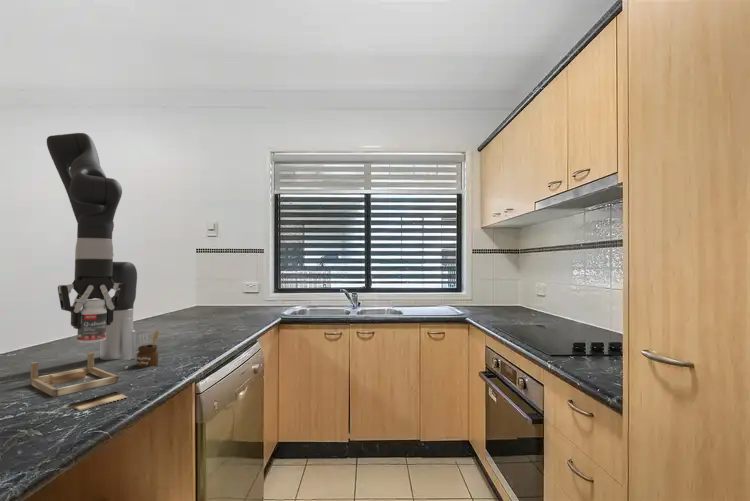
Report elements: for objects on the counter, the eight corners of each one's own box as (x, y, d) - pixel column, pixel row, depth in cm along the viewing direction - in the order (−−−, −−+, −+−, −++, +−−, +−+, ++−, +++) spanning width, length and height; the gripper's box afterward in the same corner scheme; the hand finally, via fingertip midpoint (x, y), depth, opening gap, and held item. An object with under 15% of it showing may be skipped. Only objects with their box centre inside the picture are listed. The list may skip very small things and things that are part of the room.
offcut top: (81, 376, 110) (81, 369, 110) (85, 378, 109) (85, 370, 109) (49, 382, 105) (50, 374, 105) (53, 384, 103) (53, 376, 103)
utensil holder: (146, 365, 127) (147, 328, 127) (163, 366, 126) (164, 329, 126) (131, 370, 121) (132, 331, 121) (149, 371, 120) (150, 332, 120)
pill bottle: (83, 344, 92) (84, 301, 92) (72, 341, 95) (74, 300, 95) (110, 340, 96) (111, 299, 97) (99, 338, 100) (101, 298, 100)
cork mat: (109, 390, 103) (109, 389, 103) (127, 398, 97) (127, 396, 97) (62, 401, 94) (62, 400, 94) (79, 411, 89) (79, 409, 89)
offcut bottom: (84, 382, 112) (84, 374, 112) (90, 384, 109) (90, 377, 109) (44, 390, 104) (44, 383, 104) (49, 393, 102) (49, 385, 102)
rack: (92, 376, 115) (92, 352, 115) (118, 387, 105) (118, 361, 106) (30, 389, 103) (30, 362, 103) (53, 402, 94) (54, 373, 94)
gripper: (120, 258, 104) (118, 321, 104) (52, 257, 93) (50, 329, 92) (133, 257, 100) (131, 324, 99) (64, 256, 88) (61, 332, 88)
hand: (92, 326), depth 96 cm, fingers closed on pill bottle, 5 cm apart
